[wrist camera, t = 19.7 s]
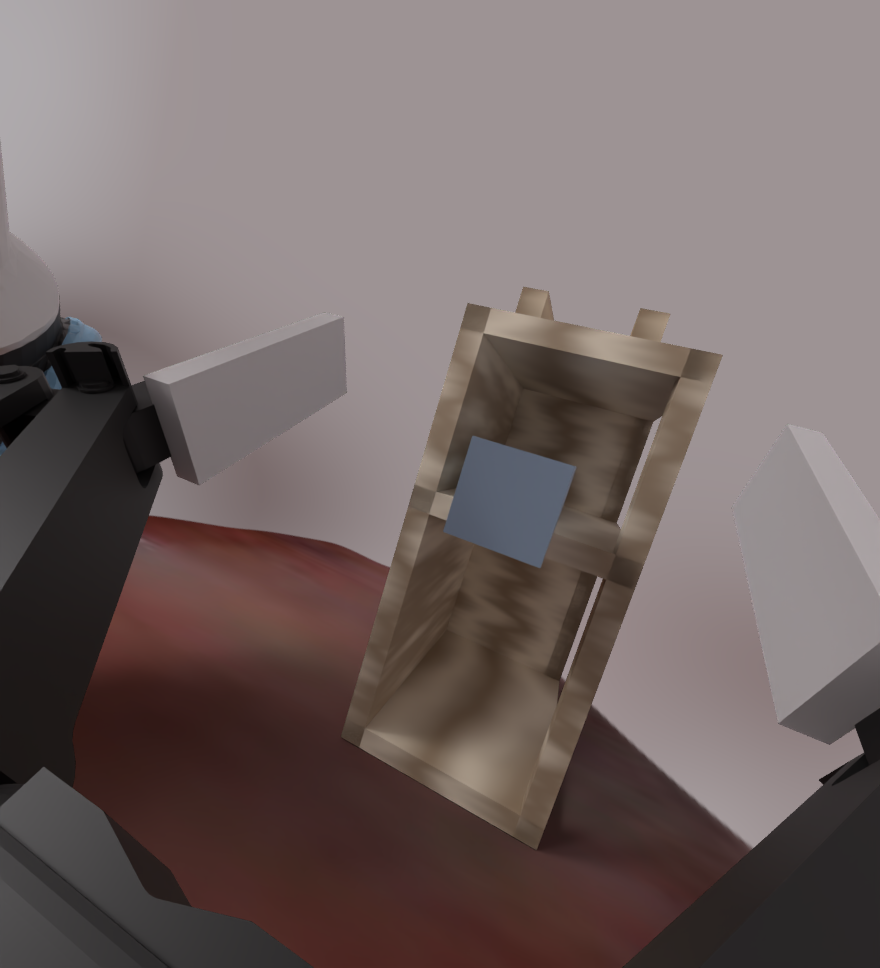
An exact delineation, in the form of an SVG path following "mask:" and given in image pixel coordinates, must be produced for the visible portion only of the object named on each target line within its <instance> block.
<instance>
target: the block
mask: <svg viewBox="0 0 880 968" xmlns="http://www.w3.org/2000/svg"><path fill="white" fill-rule="evenodd" d="M576 468H577V467H576V466H572V465H569V464H566V463H562V462H559V461H556V460H552V459H549V458H546V457H542V456H539V455H536V454H532V453H529V452H526V451H522V450H519V449H516V448H512V447H509V446H506V445H502V444H499V443H496V442H492V441H489V440H486V439H482V438H479V437H476V436H472V438H471V442H470V445H469V448H468V452H467V455H466V458H465V461H464V465H463V468H462V471H461V474H460V478H459V481H458V484H457V487H456V491H455V494H454V497H453V501H452V504H451V507H450V510H449V514H448V517H447V520H446V523H445V527H444V530H443V532H445V533H448V534H450V535H453V536H456V537H458V538H461V539H463V540H466V541H469V542H471V543H474V544H477V545H479V546H482V547H485V548H487V549H490V550H493V551H495V552H498V553H501V554H503V555H506V556H508V557H511V558H514V559H516V560H519V561H522V562H524V563H527V564H530V565H532V566H535V567H538V568H541V565H542V562H543V560H544V557H545V554H546V551H547V549H548V546H549V543H550V541H551V538H552V535H553V533H554V530H555V527H556V525H557V522H558V519H559V516H560V514H561V511H562V508H563V506H564V503H565V500H566V497H567V494H568V491H569V488H570V485H571V482H572V479H573V476H574V473H575V471H576Z"/></svg>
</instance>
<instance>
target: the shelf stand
mask: <svg viewBox="0 0 880 968" xmlns="http://www.w3.org/2000/svg"><path fill="white" fill-rule="evenodd" d="M669 316H670V314H669V313H663V312H658V311H652V310H647V309H642V308H641V309H640V311H639V314H638V317H637V319H636V322H635V325H634V327H633V330H632V333H631V335H630V336H627V335H622V334H617V333H612V332H607V331H602V330H597V329H592V328H588V327H583V326H578V325H573V324H568V323H563V322H558V321H554V318H553V312H552V307H551V301H550V296H549V291H544V290H538V289H533V288H527V287H523V289H522V293H521V296H520V299H519V302H518V306H517V309H516V312H515V313H514V312H509V311H504V310H499V309H494V308H489V307H484V306H479V305H474V304H469V303H468V304H467V307H466V311H465V314H464V318H463V321H462V324H461V328H460V331H459V335H458V338H457V341H456V345H455V348H454V352H453V355H452V359H451V362H450V366H449V369H448V372H447V376H446V379H445V383H444V386H443V389H442V393H441V396H440V400H439V403H438V407H437V410H436V413H435V417H434V420H433V424H432V427H431V430H430V434H429V437H428V441H427V445H426V448H425V451H424V454H423V458H422V461H421V465H420V468H419V472H418V475H417V479H416V482H415V485H414V489H413V492H412V495H411V499H410V502H409V506H408V510H407V513H406V516H405V519H404V523H403V527H402V530H401V533H400V537H399V540H398V543H397V547H396V551H395V554H394V557H393V561H392V564H391V567H390V571H389V574H388V578H387V581H386V584H385V588H384V591H383V595H382V598H381V602H380V605H379V608H378V612H377V615H376V619H375V622H374V626H373V629H372V632H371V636H370V639H369V643H368V646H367V649H366V653H365V656H364V660H363V663H362V667H361V670H360V673H359V677H358V680H357V684H356V687H355V691H354V694H353V697H352V701H351V704H350V708H349V711H348V714H347V718H346V721H345V725H344V728H343V732H342V735H341V737H342V738H344V739H345V740H347V741H349V742H350V743H352V744H354V745H356V746H357V747H359V748H361V749H363V750H364V751H366V752H368V753H369V754H371V755H373V756H375V757H376V758H378V759H380V760H382V761H383V762H385V763H387V764H388V765H390V766H392V767H394V768H395V769H397V770H399V771H401V772H402V773H404V774H406V775H407V776H409V777H411V778H413V779H414V780H416V781H418V782H420V783H421V784H423V785H425V786H426V787H428V788H430V789H432V790H433V791H435V792H437V793H439V794H440V795H442V796H444V797H445V798H447V799H449V800H451V801H452V802H454V803H456V804H458V805H459V806H461V807H463V808H464V809H466V810H468V811H470V812H471V813H473V814H475V815H477V816H478V817H480V818H482V819H483V820H485V821H487V822H489V823H490V824H492V825H494V826H496V827H497V828H499V829H501V830H502V831H504V832H506V833H508V834H509V835H511V836H513V837H515V838H516V839H518V840H520V841H521V842H523V843H525V844H527V845H528V846H530V847H532V848H534V849H535V850H537V848H538V845H539V842H540V840H541V837H542V834H543V832H544V829H545V826H546V824H547V821H548V818H549V816H550V813H551V810H552V808H553V805H554V802H555V800H556V797H557V794H558V792H559V789H560V786H561V784H562V781H563V779H564V776H565V773H566V771H567V768H568V765H569V763H570V760H571V757H572V755H573V752H574V749H575V747H576V744H577V741H578V739H579V736H580V733H581V731H582V728H583V725H584V723H585V720H586V717H587V715H588V712H589V709H590V707H591V704H592V701H593V699H594V696H595V693H596V691H597V688H598V685H599V682H600V680H601V678H602V675H603V672H604V669H605V667H606V664H607V662H608V659H609V656H610V654H611V651H612V648H613V646H614V643H615V640H616V638H617V635H618V632H619V629H620V627H621V624H622V622H623V619H624V616H625V614H626V611H627V608H628V605H629V603H630V600H631V598H632V595H633V592H634V590H635V587H636V584H637V582H638V579H639V576H640V574H641V571H642V569H643V566H644V563H645V560H646V558H647V555H648V553H649V550H650V547H651V544H652V542H653V539H654V536H655V534H656V531H657V528H658V526H659V523H660V521H661V518H662V515H663V513H664V510H665V507H666V505H667V502H668V499H669V497H670V494H671V491H672V489H673V486H674V483H675V481H676V478H677V475H678V473H679V470H680V467H681V465H682V462H683V460H684V457H685V454H686V452H687V449H688V446H689V444H690V441H691V438H692V435H693V433H694V430H695V427H696V425H697V422H698V419H699V417H700V414H701V412H702V409H703V406H704V404H705V401H706V398H707V396H708V393H709V390H710V388H711V385H712V382H713V379H714V377H715V374H716V372H717V369H718V366H719V364H720V361H721V358H722V355H721V354H716V353H711V352H706V351H701V350H696V349H691V348H686V347H681V346H676V345H671V344H666V343H661V339H662V336H663V333H664V331H665V328H666V325H667V322H668V319H669ZM661 416H662V419H661V421H660V424H659V427H658V429H657V432H656V435H655V438H654V440H653V443H652V446H651V448H650V451H649V454H648V457H647V460H646V462H645V465H644V468H643V470H642V473H641V476H640V479H639V481H638V484H637V487H636V490H635V492H634V495H633V498H632V501H631V503H630V506H629V509H628V512H627V515H626V517H625V520H624V523H623V526H622V528H621V529H620V527H619V526H618V524H617V520H618V518H619V515H620V512H621V509H622V507H623V504H624V501H625V498H626V495H627V493H628V490H629V487H630V485H631V482H632V479H633V476H634V473H635V471H636V468H637V465H638V462H639V460H640V457H641V454H642V451H643V449H644V446H645V443H646V440H647V437H648V435H649V432H650V429H651V426H652V424H653V422H654V421H655V420H657V419H658V418H660V417H661ZM472 436H476V437H479V438H482V439H486V440H489V441H492V442H496V443H499V444H502V445H506V446H509V447H512V448H516V449H519V450H522V451H526V452H529V453H532V454H536V455H539V456H542V457H546V458H549V459H552V460H556V461H559V462H562V463H566V464H569V465H572V466H576V467H577V468H576V471H575V473H574V476H573V479H572V482H571V485H570V488H569V491H568V494H567V497H566V500H565V503H564V506H563V508H562V511H561V514H560V516H559V519H558V522H557V525H556V527H555V530H554V533H553V535H552V538H551V541H550V543H549V546H548V549H547V551H546V554H545V557H544V560H543V562H542V565H541V568H538V567H535V566H532V565H530V564H527V563H524V562H522V561H519V560H516V559H514V558H511V557H508V556H506V555H503V554H501V553H498V552H495V551H493V550H490V549H487V548H485V547H482V546H479V545H477V544H474V543H471V542H469V541H466V540H463V539H461V538H458V537H456V536H453V535H450V534H448V533H445V532H443V530H444V527H445V523H446V520H447V517H448V514H449V510H450V507H451V504H452V501H453V497H454V494H455V491H456V487H457V484H458V481H459V478H460V474H461V471H462V468H463V465H464V461H465V458H466V455H467V452H468V448H469V445H470V442H471V438H472ZM597 576H598V577H600V578H603V580H602V583H601V586H600V589H599V591H598V594H597V597H596V599H595V602H594V605H593V608H592V610H591V613H590V616H589V619H588V621H587V624H586V627H585V630H584V632H583V635H582V638H581V641H580V643H579V646H578V649H577V652H576V654H575V657H574V660H573V663H572V665H571V668H570V671H569V674H568V676H567V679H566V682H565V685H564V687H563V690H562V693H561V696H560V698H559V701H558V704H557V700H558V690H559V681H560V678H561V675H562V672H563V669H564V667H565V664H566V661H567V658H568V656H569V653H570V650H571V647H572V645H573V642H574V639H575V636H576V633H577V631H578V628H579V625H580V622H581V620H582V617H583V614H584V612H585V609H586V606H587V603H588V600H589V598H590V595H591V592H592V589H593V587H594V584H595V581H596V578H597Z"/></svg>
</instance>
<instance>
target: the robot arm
mask: <svg viewBox="0 0 880 968" xmlns="http://www.w3.org/2000/svg"><path fill="white" fill-rule="evenodd" d="M143 377H144V380H145V381H143V382H140V383H137V384H134V385H132V386H131V383H130V380H129V378H128V375H127V372H126V369H125V367H124V364H123V361H122V358H121V355H120V353H119V350H118V348H117V347H116V346H115V345H113V344H110V343H106V342H102V337H101V335H100V334H99V333H98V332H97V331H96V330H95V329H94V328H92V327H89V326H87V325H85V324H83V323H82V322H81V321H80V320H79V319H76V318H71V317H67V318H65V319H64V318H61V317H60V298H59V291H58V285H57V283H56V280H55V278H54V276H53V274H52V272H51V271H50V269H49V268H48V266H46V264H45V262H44V261H43V260H42V259H41V258H40V257H39V256H38V255H37V254H36V253H35V252H34V251H33V250H32V249H31V248H29V246H27V245H26V244H25V243H24V242H23V241H21V240H20V239H19V238H17V237H16V236H15V235H13V234H12V233H11V232H9V223H8V213H7V204H6V193H5V183H4V173H3V164H2V153H1V143H0V968H313V967H312V966H311V965H309V964H308V963H307V962H305V961H304V960H303V959H301V958H300V957H299V956H297V955H296V954H295V953H293V952H292V951H291V950H289V949H288V948H287V947H285V946H284V945H283V944H281V943H280V942H279V941H277V940H276V939H275V938H273V937H272V936H270V935H269V934H268V933H266V932H265V931H264V930H262V929H261V928H260V927H258V926H257V925H256V924H254V923H253V922H251V921H247V920H243V919H239V918H235V917H231V916H227V915H222V914H218V913H214V912H210V911H206V910H202V909H198V908H194V907H191V905H190V903H189V902H188V900H187V898H186V896H185V895H184V893H183V891H182V889H181V888H180V886H179V884H178V882H177V881H176V879H175V877H174V875H173V874H172V872H171V870H169V869H168V868H167V867H166V866H165V865H164V864H163V863H161V862H160V861H159V860H158V859H157V858H156V857H155V856H154V855H152V854H151V853H150V852H149V851H148V850H147V849H146V848H144V847H143V846H142V845H141V844H140V843H139V842H138V841H137V840H135V839H134V838H133V837H132V836H131V835H130V834H129V833H127V832H126V831H125V830H124V829H123V828H122V827H121V826H120V825H118V824H117V823H116V822H115V821H114V820H113V819H112V818H110V817H109V816H108V815H107V814H106V813H105V812H104V811H102V810H101V809H100V808H98V807H97V806H96V805H94V804H93V803H92V802H90V801H89V800H88V799H86V798H85V797H84V796H82V795H81V794H80V793H78V792H77V791H76V790H74V789H73V788H72V787H73V782H74V778H75V763H76V761H75V755H74V748H73V742H72V738H73V729H74V725H75V721H76V718H77V715H78V712H79V710H80V707H81V704H82V701H83V698H84V695H85V693H86V690H87V687H88V684H89V681H90V679H91V676H92V673H93V670H94V667H95V665H96V662H97V659H98V656H99V653H100V651H101V648H102V645H103V642H104V639H105V637H106V634H107V631H108V628H109V625H110V622H111V620H112V617H113V614H114V611H115V608H116V606H117V603H118V600H119V597H120V594H121V592H122V589H123V586H124V583H125V580H126V578H127V575H128V572H129V569H130V566H131V564H132V561H133V558H134V555H135V552H136V549H137V547H138V544H139V541H140V538H141V535H142V533H143V530H144V527H145V524H146V521H147V519H148V516H149V513H150V510H151V507H152V504H153V502H154V499H155V496H156V493H157V491H158V488H159V485H160V482H161V479H162V476H163V473H162V468H161V466H160V464H159V463H160V462H161V461H163V460H165V459H167V458H169V457H171V460H172V462H173V465H174V468H175V471H176V474H177V476H178V477H180V478H183V479H185V480H188V481H190V482H193V483H195V484H197V485H201V484H203V483H204V482H206V481H207V480H209V479H210V478H212V477H214V476H215V475H217V474H219V473H220V472H222V471H223V470H225V469H227V468H228V467H230V466H231V465H233V464H234V463H236V462H238V461H239V460H241V459H242V458H244V457H246V456H247V455H249V454H250V453H252V452H254V451H255V450H257V449H258V448H260V447H262V446H263V445H265V444H266V443H268V442H269V441H271V440H273V439H274V438H276V437H277V436H279V435H281V434H282V433H284V432H285V431H287V430H289V429H290V428H292V427H293V426H295V425H297V424H298V423H300V422H301V421H303V420H304V419H306V418H308V417H309V416H311V415H312V414H314V413H315V412H317V411H319V410H320V409H322V408H324V407H325V406H327V405H328V404H330V403H332V402H333V401H335V400H336V399H338V398H339V397H341V396H343V395H344V394H346V393H347V388H346V362H345V337H344V317H342V316H338V315H334V314H330V313H326V312H324V313H321V314H318V315H315V316H313V317H310V318H307V319H304V320H301V321H298V322H295V323H293V324H290V325H287V326H284V327H281V328H278V329H275V330H272V331H270V332H267V333H264V334H261V335H258V336H255V337H252V338H250V339H247V340H244V341H241V342H238V343H235V344H233V345H230V346H227V347H224V348H221V349H218V350H216V351H212V352H210V353H207V354H204V355H201V356H198V357H195V358H192V359H190V360H187V361H184V362H181V363H178V364H175V365H172V366H169V367H167V368H164V369H161V370H158V371H155V372H152V373H149V374H147V375H144V376H143ZM732 512H733V516H734V520H735V526H736V530H737V535H738V539H739V544H740V549H741V553H742V558H743V562H744V567H745V572H746V577H747V581H748V586H749V591H750V595H751V600H752V605H753V609H754V614H755V618H756V623H757V628H758V632H759V637H760V642H761V646H762V651H763V656H764V660H765V665H766V669H767V674H768V679H769V683H770V688H771V693H772V697H773V701H774V707H775V711H776V715H777V721H778V724H780V725H783V726H785V727H788V728H790V729H793V730H795V731H797V732H800V733H803V734H805V735H807V736H810V737H812V738H814V739H817V740H819V741H822V742H824V743H827V744H829V745H830V744H832V743H833V742H835V741H836V740H838V739H839V738H841V737H842V736H844V735H845V734H846V733H848V732H850V731H851V730H853V729H854V728H856V731H857V733H858V736H859V739H860V742H861V745H862V747H863V750H864V753H863V754H861V755H859V756H858V757H856V758H854V759H852V760H851V761H850V762H847V763H846V764H844V765H842V766H841V767H839V768H838V769H836V770H834V771H833V772H831V773H830V774H828V775H826V776H824V777H823V778H821V779H819V781H820V782H821V783H822V784H823V786H822V787H821V788H819V789H818V790H817V791H816V792H815V793H814V794H813V795H812V796H811V797H809V798H808V799H807V800H806V801H805V802H804V803H803V804H802V805H801V806H800V807H798V808H797V809H796V810H795V811H794V812H793V813H792V814H791V815H790V816H789V817H787V819H785V820H784V821H783V822H782V823H781V824H780V825H779V826H778V827H776V828H775V829H774V830H773V831H772V832H771V833H770V834H769V835H768V836H767V837H765V838H764V839H763V840H762V841H761V842H760V843H759V844H758V845H757V846H756V847H754V848H753V849H752V850H751V851H750V852H749V853H748V854H747V855H746V856H745V857H743V858H742V859H741V860H740V861H739V862H738V863H737V864H736V865H735V866H734V867H732V868H731V869H730V870H729V871H728V872H727V873H726V874H725V875H724V876H723V877H721V878H720V879H719V880H718V881H717V882H716V883H715V884H714V885H713V886H712V887H710V888H709V889H708V890H707V891H706V892H705V893H704V894H703V895H702V896H701V897H699V898H698V899H697V900H696V901H695V902H694V903H693V904H692V905H691V906H690V907H688V908H687V909H686V910H685V911H684V912H683V913H682V914H681V915H680V916H679V917H677V918H676V919H675V920H674V921H673V922H672V923H671V924H670V925H669V926H668V927H666V928H665V929H664V930H663V931H662V932H661V933H660V934H659V935H658V936H656V937H655V938H654V939H653V940H652V941H651V942H650V943H649V944H648V945H647V946H645V947H644V948H643V949H642V950H641V951H640V952H639V953H638V954H637V955H636V956H634V957H633V958H632V959H631V960H630V961H629V962H628V963H627V964H626V965H625V966H623V967H622V968H880V519H879V517H878V516H877V514H876V513H875V511H874V510H873V508H872V507H871V505H870V504H869V502H868V501H867V499H866V498H865V496H864V495H863V493H862V492H861V490H860V488H859V487H858V485H857V484H856V483H855V481H854V479H853V478H852V476H851V475H850V474H849V472H848V470H847V469H846V467H845V466H844V464H843V463H842V462H841V460H840V458H839V457H838V456H837V454H836V452H835V451H834V449H833V448H832V446H831V445H830V443H829V442H828V441H827V439H826V437H825V436H824V434H823V433H822V432H818V431H815V430H811V429H806V428H802V427H798V426H794V425H790V424H787V425H786V427H785V428H784V429H783V431H782V432H781V434H780V435H779V437H778V439H777V440H776V441H775V443H774V444H773V446H772V448H771V449H770V451H769V452H768V454H767V455H766V456H765V458H764V459H763V461H762V463H761V464H760V465H759V467H758V469H757V470H756V472H755V473H754V475H753V476H752V477H751V479H750V480H749V482H748V484H747V485H746V487H745V488H744V490H743V491H742V493H741V494H740V496H739V497H738V499H737V500H736V502H735V503H734V505H733V506H732Z"/></svg>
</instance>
